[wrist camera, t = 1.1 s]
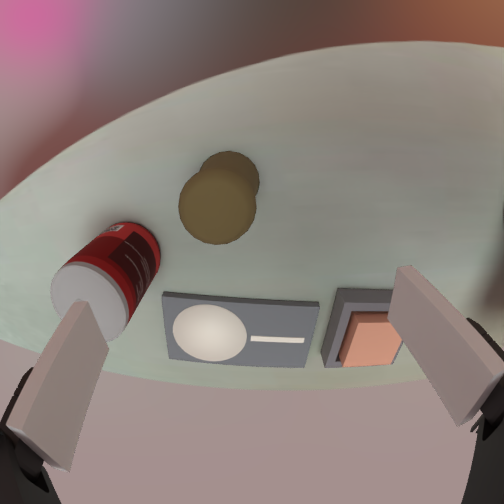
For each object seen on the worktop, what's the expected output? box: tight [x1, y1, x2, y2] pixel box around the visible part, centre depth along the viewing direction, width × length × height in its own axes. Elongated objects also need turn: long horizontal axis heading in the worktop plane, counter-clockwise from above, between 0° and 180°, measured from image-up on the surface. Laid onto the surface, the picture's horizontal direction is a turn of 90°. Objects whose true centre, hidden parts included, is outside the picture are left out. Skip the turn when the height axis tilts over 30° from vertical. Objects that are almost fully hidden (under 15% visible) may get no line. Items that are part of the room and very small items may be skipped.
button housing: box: [321, 288, 403, 368], centre depth 33 cm, size 10×10×3 cm
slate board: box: [162, 292, 320, 368], centre depth 34 cm, size 18×10×1 cm, turn 86°
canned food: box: [50, 222, 160, 342], centre depth 26 cm, size 8×8×11 cm
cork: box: [178, 151, 260, 245], centre depth 23 cm, size 6×6×11 cm
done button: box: [338, 311, 402, 367], centre depth 32 cm, size 7×7×3 cm
